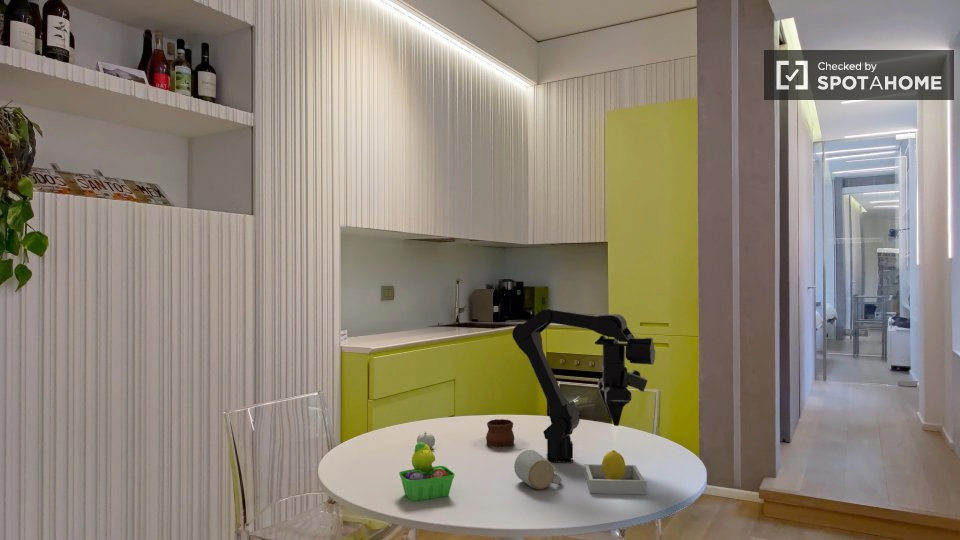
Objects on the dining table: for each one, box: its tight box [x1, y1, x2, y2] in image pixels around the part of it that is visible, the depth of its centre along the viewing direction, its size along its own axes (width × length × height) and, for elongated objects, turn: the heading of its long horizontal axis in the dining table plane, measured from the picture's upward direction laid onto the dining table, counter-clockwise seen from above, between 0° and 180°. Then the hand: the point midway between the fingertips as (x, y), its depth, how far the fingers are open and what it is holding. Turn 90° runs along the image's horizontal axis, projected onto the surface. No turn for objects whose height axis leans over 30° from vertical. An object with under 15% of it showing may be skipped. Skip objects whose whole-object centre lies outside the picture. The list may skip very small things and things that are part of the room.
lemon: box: [601, 449, 626, 480], centre depth 150 cm, size 6×6×8 cm
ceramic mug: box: [513, 449, 563, 490], centre depth 150 cm, size 11×8×8 cm
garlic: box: [416, 430, 436, 449], centre depth 182 cm, size 6×5×5 cm
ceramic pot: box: [485, 418, 523, 451], centre depth 187 cm, size 18×18×7 cm
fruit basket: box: [398, 442, 456, 502], centre depth 144 cm, size 11×9×11 cm
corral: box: [584, 463, 646, 496], centre depth 150 cm, size 13×13×3 cm
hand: (613, 421), depth 164 cm, fingers open, 9 cm apart
